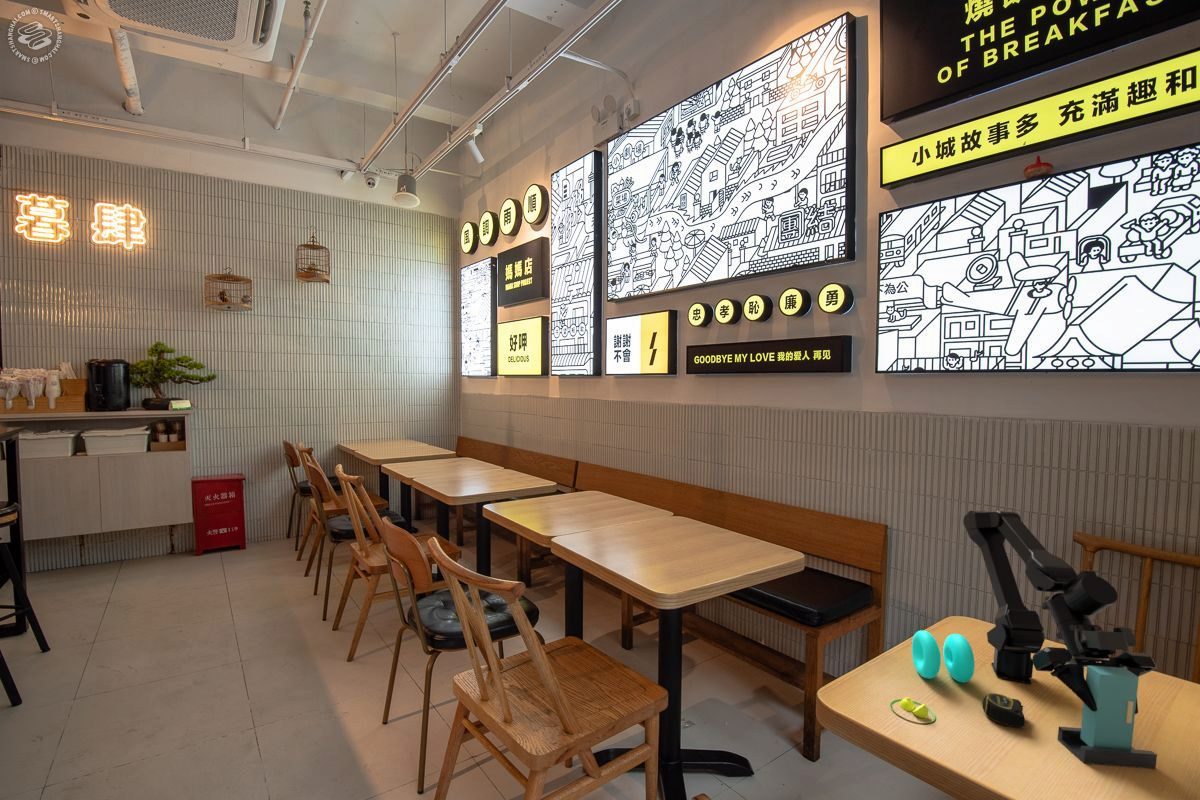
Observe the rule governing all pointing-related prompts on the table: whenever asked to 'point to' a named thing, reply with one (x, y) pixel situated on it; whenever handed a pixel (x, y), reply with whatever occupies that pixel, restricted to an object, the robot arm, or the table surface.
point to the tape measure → (1004, 709)
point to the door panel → (1110, 707)
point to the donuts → (954, 654)
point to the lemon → (909, 706)
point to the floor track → (1104, 752)
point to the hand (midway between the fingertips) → (1115, 712)
